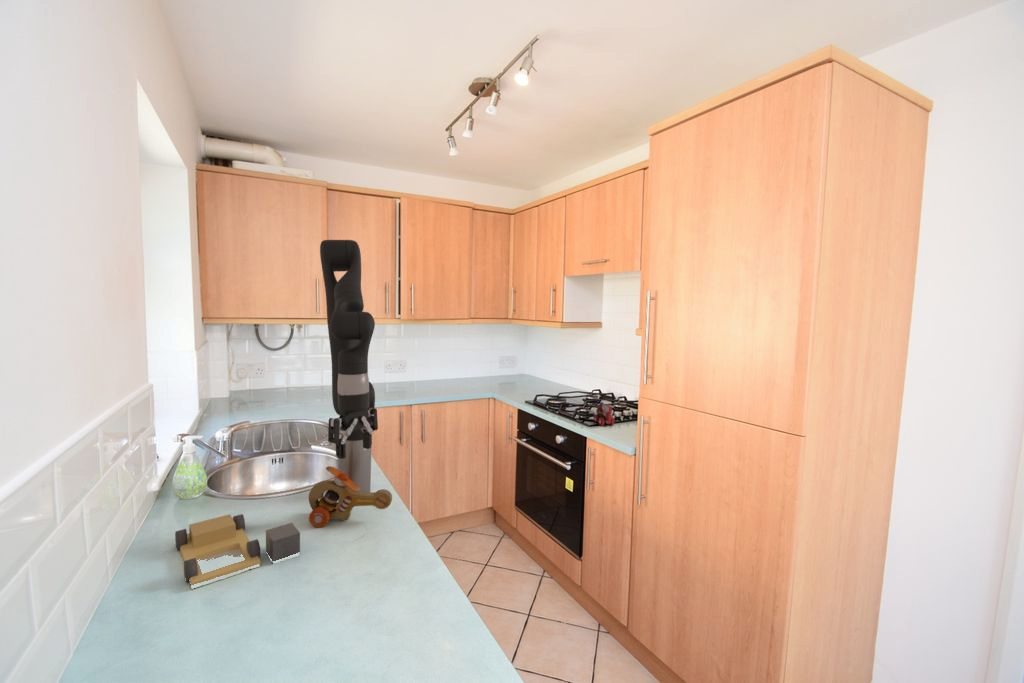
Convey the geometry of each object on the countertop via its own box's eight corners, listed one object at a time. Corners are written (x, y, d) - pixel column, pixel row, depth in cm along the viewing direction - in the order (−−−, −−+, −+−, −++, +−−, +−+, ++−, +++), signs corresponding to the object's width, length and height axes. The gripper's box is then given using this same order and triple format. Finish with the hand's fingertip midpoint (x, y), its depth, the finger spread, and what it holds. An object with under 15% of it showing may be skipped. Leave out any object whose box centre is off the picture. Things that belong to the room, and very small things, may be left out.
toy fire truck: (603, 420, 224) (605, 399, 223) (615, 427, 212) (617, 406, 211) (591, 420, 222) (592, 400, 221) (602, 427, 210) (604, 406, 209)
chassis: (174, 543, 101) (174, 524, 101) (240, 525, 110) (240, 507, 109) (188, 591, 86) (187, 569, 85) (262, 566, 95) (262, 546, 94)
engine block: (265, 553, 99) (265, 530, 99) (292, 544, 103) (292, 522, 103) (272, 565, 95) (272, 541, 95) (299, 555, 99) (299, 532, 99)
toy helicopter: (314, 512, 118) (315, 462, 117) (393, 512, 120) (395, 463, 119) (303, 528, 110) (303, 475, 109) (388, 528, 112) (389, 476, 111)
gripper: (363, 384, 120) (364, 443, 121) (319, 394, 107) (321, 459, 108) (384, 387, 116) (385, 447, 118) (341, 397, 104) (343, 464, 105)
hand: (354, 453), depth 113 cm, fingers open, 8 cm apart
